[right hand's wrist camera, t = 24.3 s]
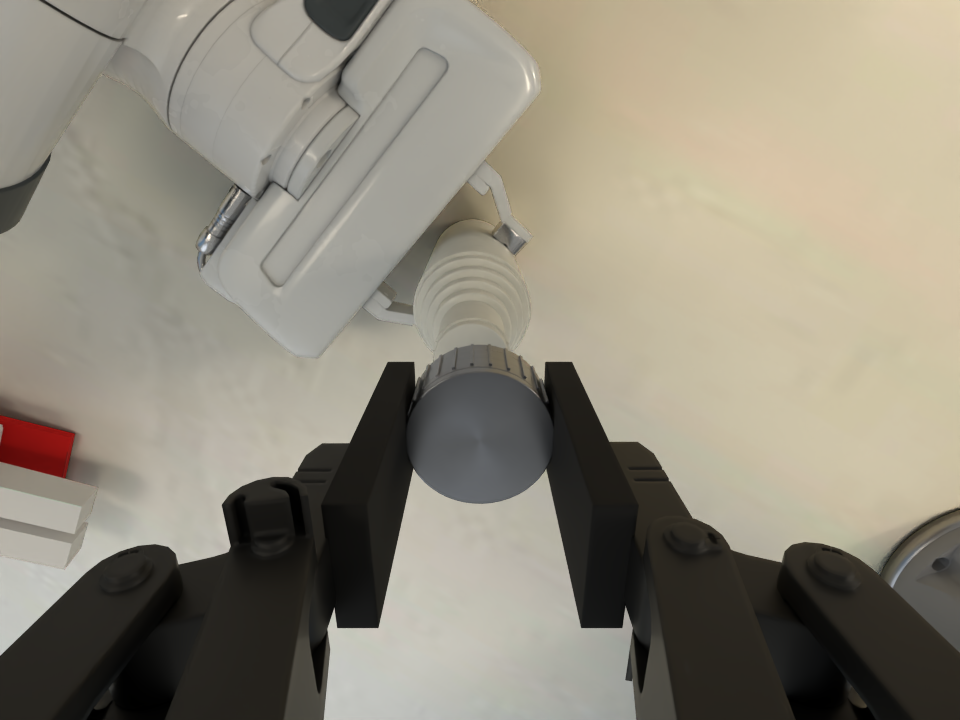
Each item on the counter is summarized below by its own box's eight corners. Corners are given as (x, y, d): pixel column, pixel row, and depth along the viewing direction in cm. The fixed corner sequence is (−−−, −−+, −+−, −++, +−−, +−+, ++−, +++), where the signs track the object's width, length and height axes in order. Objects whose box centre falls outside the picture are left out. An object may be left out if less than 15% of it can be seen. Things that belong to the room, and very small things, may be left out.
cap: (575, 391, 15) (589, 424, 13) (494, 485, 16) (496, 529, 14) (463, 314, 14) (460, 338, 12) (386, 420, 15) (373, 457, 13)
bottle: (445, 306, 36) (419, 441, 19) (423, 230, 34) (372, 305, 17) (519, 287, 36) (563, 408, 18) (501, 210, 34) (531, 263, 16)
